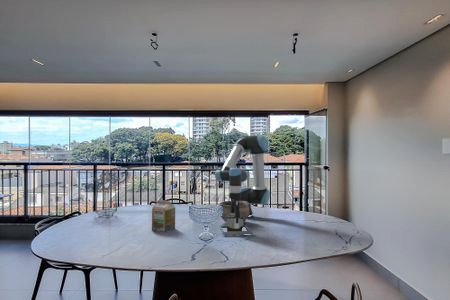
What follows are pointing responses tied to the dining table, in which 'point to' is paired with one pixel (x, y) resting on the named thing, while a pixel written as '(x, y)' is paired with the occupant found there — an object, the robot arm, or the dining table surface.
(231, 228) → the food container
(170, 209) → the milk carton
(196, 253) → the dining table surface
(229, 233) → the tray
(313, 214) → the dining table surface
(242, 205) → the ceramic bowl
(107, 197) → the geometric lantern
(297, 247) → the dining table surface
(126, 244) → the dining table surface
